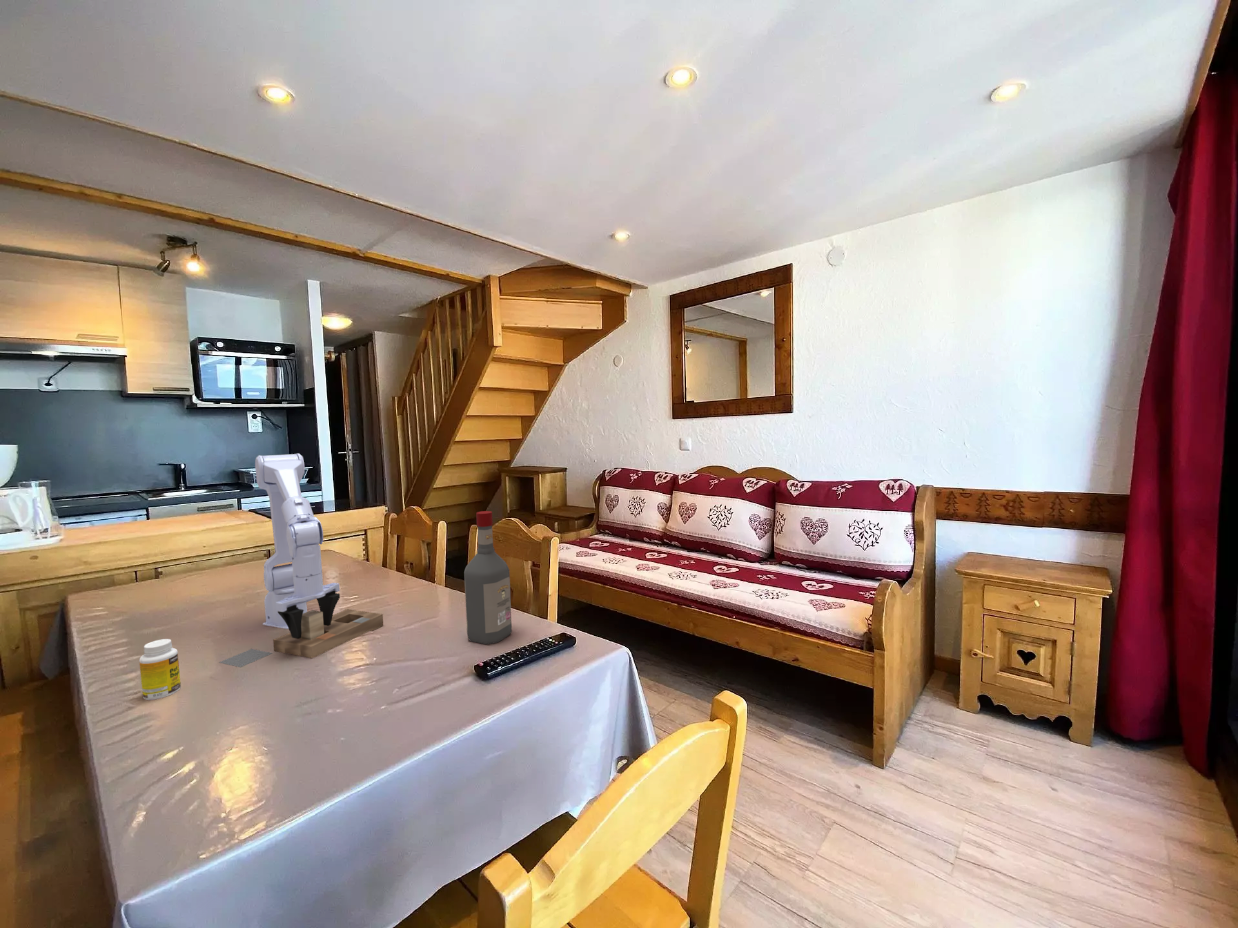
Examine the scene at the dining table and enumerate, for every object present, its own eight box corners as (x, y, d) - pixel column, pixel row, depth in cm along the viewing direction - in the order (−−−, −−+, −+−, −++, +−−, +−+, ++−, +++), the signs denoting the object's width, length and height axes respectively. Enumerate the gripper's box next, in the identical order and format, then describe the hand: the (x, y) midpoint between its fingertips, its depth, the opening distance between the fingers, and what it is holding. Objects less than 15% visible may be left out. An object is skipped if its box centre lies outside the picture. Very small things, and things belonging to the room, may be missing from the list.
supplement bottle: (176, 697, 99) (171, 645, 98) (138, 704, 96) (132, 651, 96) (185, 684, 104) (180, 634, 103) (149, 690, 101) (144, 640, 101)
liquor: (516, 631, 126) (511, 510, 124) (492, 646, 118) (487, 517, 116) (486, 626, 130) (481, 508, 128) (461, 640, 122) (455, 514, 119)
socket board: (274, 652, 118) (273, 639, 117) (348, 619, 136) (347, 608, 136) (312, 659, 113) (311, 646, 113) (383, 625, 132) (382, 613, 132)
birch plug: (301, 648, 119) (298, 615, 119) (314, 642, 122) (312, 609, 122) (311, 651, 118) (309, 616, 117) (325, 644, 121) (322, 611, 120)
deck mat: (218, 664, 112) (218, 662, 112) (251, 650, 119) (251, 648, 119) (240, 668, 110) (240, 667, 110) (272, 654, 116) (272, 653, 116)
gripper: (290, 584, 111) (294, 646, 112) (347, 566, 124) (351, 621, 125) (267, 581, 113) (272, 641, 114) (325, 564, 127) (329, 618, 128)
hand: (311, 631), depth 120 cm, fingers open, 7 cm apart
